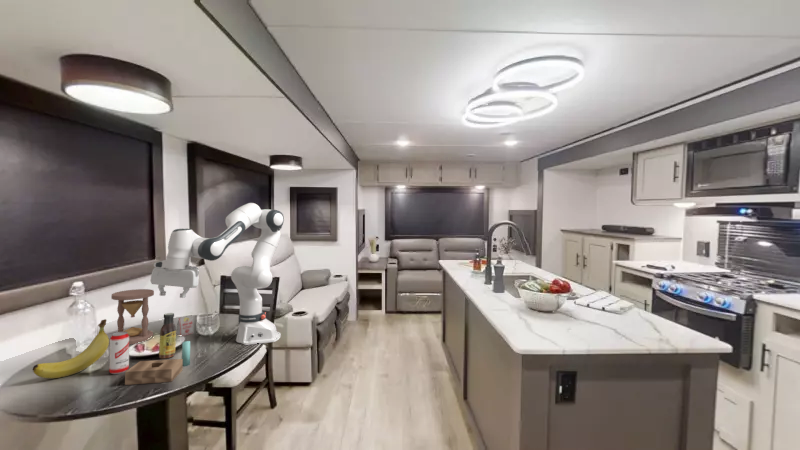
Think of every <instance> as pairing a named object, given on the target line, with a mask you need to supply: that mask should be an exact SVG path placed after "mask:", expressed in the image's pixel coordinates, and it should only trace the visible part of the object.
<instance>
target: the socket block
mask: <svg viewBox="0 0 800 450" xmlns="http://www.w3.org/2000/svg"><path fill="white" fill-rule="evenodd" d="M183 369H184V366H183V359H182V358H175V359H174V358H173V359H158V360H154V359H153V360H140V361H138V362H137V363H135V364H134V365H133V366H131V367H129V368H128V370H127V371H125V372H124V385H125V386H126V385H127V386H128V385H130V386H131V385H143V384H146V385H147V384H158V383H172V382H173V381H174V380H175V379H176V378H177V377H178V376H179V375H180V374H181V373H182V372H183Z"/></svg>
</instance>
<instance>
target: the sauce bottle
mask: <svg viewBox="0 0 800 450" xmlns="http://www.w3.org/2000/svg"><path fill="white" fill-rule="evenodd" d="M174 317H175V313H173V312H168V313H164V314H163V325H162V326H161V328H160V330H159V332H160V333H159V343H158V344H159V346H158V347H159V349H158V357H159V359H161V360H166V359H170V358H173V357H174V356H175V355H176V346H177V345H176V344H177V343H176V340H177V328H176V326H175V323H174Z"/></svg>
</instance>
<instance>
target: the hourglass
mask: <svg viewBox="0 0 800 450" xmlns="http://www.w3.org/2000/svg"><path fill="white" fill-rule="evenodd" d="M154 294H155V291H154V289H148V288H147V289H146V288H138V289H128V290H122V291H121V290H120V291H117V292H113V293H111V300H114V301H117V302H118V303H117V308H116V310H117V311H116V312H117V314H118V318H117V321H116V323H117V332H128V333H127V334H128V335H129V346H130V345H136V344H139V343H138V342H141V343H143V342H142V341H144V342H146V341H145V340H147V339H148V338H150V337H151V336H153V337H154V331H152V330H149V329H148V327H149V319H148V313H149V309H150V308H149V307H150V306H149V298H150V297H152V296H154ZM140 309H141V313H142V314H141V315H142V316H143V317H142V319H141V323H140V324H141V327H134V326H131V327H130V328H126V329H124V326H125V318H124V313H125V311H126V312H127V313H129V315H130V318H135V317H136V316H135V315H136V313H137V312H138V311H139V310H140ZM147 341H148V340H147ZM135 343H136V344H135Z"/></svg>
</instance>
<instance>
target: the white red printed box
mask: <svg viewBox="0 0 800 450" xmlns="http://www.w3.org/2000/svg"><path fill="white" fill-rule="evenodd" d="M192 334H194V319H193V315H192V314H191V315H186V316H181V317H178V319H177V324H176V336H177V335H182V336H181V337H184V336H188V335H192Z"/></svg>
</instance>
